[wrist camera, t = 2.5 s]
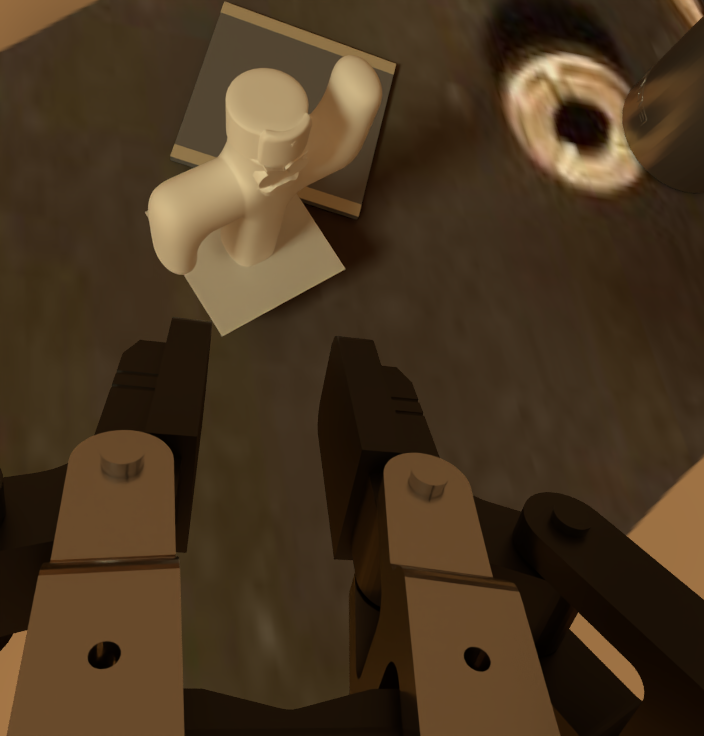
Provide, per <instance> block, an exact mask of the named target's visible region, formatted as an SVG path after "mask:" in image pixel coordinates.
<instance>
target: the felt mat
mask: <svg viewBox="0 0 704 736" xmlns="http://www.w3.org/2000/svg"><path fill="white" fill-rule="evenodd" d="M347 55H355V56H359V57H361V58H362V59H364V60H365V61H367V62H368V63H369V64H370V65H371V66H372V68H373V69H374V70H375V72H376V74H377V75H378V78H379V80H380V83H381V87H382V100H381V104H380V107H379V109H378V111H377V114H376V116H375V118H374V121H373V123H372V125H371V128H370V130H369V132H368V135H367V137H366V139H365V141H364V144H363V146H362V148H361V150H360V151H359V153H358V155H357V156H356V157H355V159H354V160H353V161H352V162H351V163H350V164H348V165H347V166H346V167H344V168H342V169H341V170H339V171H336V172H334V173H332V174H330V175H328V176H326V177H324V178H322V179H320V180H318V181H316V182H314V183H312V184H310V185H308V186H306V187H304V188H303V189H301V190H300V191H299V192H298V193H297V195H298V196H299V198H300V200H301V201H302V202H303V203H306V204H309V205H312V206H315V207H318V208H321V209H324V210H328V211H331V212H334V213H337V214H340V215H343V216H346V217H349V218H353V219H356V220H357V219H358V217H359V213H360V209H361V204H362V200H363V196H364V192H365V188H366V184H367V180H368V176H369V172H370V168H371V164H372V160H373V156H374V152H375V148H376V144H377V140H378V136H379V132H380V127H381V123H382V119H383V115H384V111H385V107H386V103H387V99H388V95H389V91H390V87H391V83H392V79H393V75H394V71H395V67H396V64H395V63H392V62H389V61H387V60H384V59H381V58H378V57H376V56H373V55H370V54H367V53H365V52H362V51H359V50H356V49H354V48H351V47H348V46H346V45H343V44H340V43H337V42H335V41H332V40H329V39H326V38H324V37H321V36H318V35H315V34H313V33H310V32H307V31H304V30H302V29H299V28H296V27H293V26H291V25H288V24H285V23H282V22H280V21H277V20H274V19H271V18H269V17H266V16H263V15H260V14H258V13H255V12H252V11H249V10H247V9H244V8H241V7H238V6H236V5H233V4H230V3H228V2H225V1H224V4H223V7H222V10H221V13H220V16H219V19H218V22H217V25H216V27H215V30H214V33H213V36H212V39H211V42H210V45H209V48H208V50H207V53H206V56H205V59H204V62H203V65H202V68H201V70H200V73H199V76H198V79H197V82H196V85H195V88H194V91H193V93H192V96H191V99H190V102H189V105H188V108H187V111H186V113H185V116H184V119H183V122H182V125H181V128H180V131H179V133H178V136H177V139H176V142H175V144H174V147H173V150H172V153H171V160H172V161H175V162H178V163H181V164H184V165H187V166H190V167H193V168H195V167H197V166H199V165H201V164H204V163H206V162H208V161H210V160H213V159H215V158H217V157H218V156H219V155H220V153H221V152H222V150H223V148H224V146H225V144H226V142H227V134H226V100H225V99H226V93H227V90H228V87H229V86H230V84H231V82H232V81H233V80H234V79H235V78H236V77H237V76H239V75H240V74H242V73H244V72H246V71H248V70H252V69H257V68H270V69H276V70H279V71H282V72H284V73H286V74H288V75H290V76H292V77H293V78H294V79H295V80H297V81H298V82H299V83H300V85H301V86H302V87H303V89H304V91H305V92H306V95H307V98H308V104H309V106H308V114H309V115H310V114H311V113H312V112H313V110H314V109H315V108H316V107H317V105H318V104H319V102H320V101H321V99H322V97H323V95H324V93H325V91H326V89H327V86H328V83H329V80H330V76H331V73H332V70H333V68H334V66H335V64H336V63H337V62H338V61H339V59H341V58H342V57H344V56H347Z"/></svg>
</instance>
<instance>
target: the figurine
mask: <svg viewBox="0 0 704 736" xmlns="http://www.w3.org/2000/svg"><path fill="white" fill-rule="evenodd" d="M225 100H226V134H227V142H226V144H225V146H224V148H223V150H222V152H221V153H220V155H219V156H218V157H217V158H215V159H213V160H210V161H208V162H206V163H204V164H201V165H199V166H197V167H195V168H192V169H190V170H188V171H186V172H184V173H181V174H179V175H177V176H175V177H172V178H170V179H168V180H166V181H164V182H163V183H161V184H160V185H159V186H158V187H156V188H155V189H154V191H153V192H152V194H151V196H150V199H149V204H148V211H146V212H145V214H146V215H147V217H148V218H149V222H150V228H151V234H152V241H153V245H154V249H155V252H156V254H157V256H158V258H159V260H160V261H161V262H162V264H163V265H164V266H165V267H166V268H167V269H168V270H170V271H171V272H173V273H176V274H184V276H185V278H186V279H187V281H188V282H189V284H190V286H191V287H192V289H193V290H194V292H195V294H196V295H197V297H198V298H199V300H200V302H201V303H202V305H203V306H204V308H205V310H206V311H207V313H208V314H209V316H210V318H211V319H212V321H213V322H214V324H215V326H216V327H217V329H218V330H219V332H220V334H221V335H222V336H224V335H226V334H227V333H229V332H231V331H233V330H235V329H237V328H238V327H240V326H242V325H244V324H246V323H248V322H249V321H251V320H253V319H255V318H257V317H259V316H260V315H262V314H264V313H266V312H268V311H270V310H271V309H273V308H275V307H277V306H279V305H281V304H282V303H284V302H286V301H288V300H290V299H292V298H293V297H295V296H297V295H299V294H301V293H303V292H304V291H306V290H308V289H310V288H312V287H314V286H315V285H317V284H319V283H321V282H323V281H324V280H326V279H328V278H330V277H332V276H334V275H335V274H337V273H339V272H341V271H343V270H345V267H344V266H343V264H342V263H341V261H340V260H339V258H338V257H337V255H336V254H335V252H334V250H333V249H332V247H331V246H330V244H329V243H328V241H327V240H326V238H325V237H324V235H323V233H322V232H321V230H320V229H319V227H318V226H317V224H316V223H315V221H314V220H313V218H312V217H311V215H310V213H309V212H308V210H307V209H306V207H305V206H304V204H303V203H302V201H301V200H300V198H299V196H298V195H297V193H298V192H299V191H300V190H301V189H303V188H304V187H306V186H308V185H310V184H312V183H314V182H316V181H318V180H320V179H322V178H324V177H326V176H328V175H330V174H332V173H334V172H336V171H339V170H341V169H342V168H344V167H346V166H347V165H348V164H350V163H351V162H352V161H353V160H354V159H355V157H356V156H357V155H358V153H359V151H360V150H361V148H362V146H363V144H364V141H365V139H366V137H367V135H368V132H369V130H370V128H371V125H372V123H373V121H374V118H375V116H376V114H377V111H378V109H379V107H380V104H381V100H382V87H381V83H380V80H379V78H378V75H377V74H376V72H375V70H374V69H373V68H372V66H371V65H370V64H369V63H368V62H367V61H365V60H364V59H362V58H361V57H359V56H355V55H347V56H344V57H342V58H341V59H339V61H338V62H337V63H336V64H335V66H334V68H333V70H332V73H331V76H330V80H329V83H328V86H327V89H326V91H325V93H324V95H323V97H322V99H321V101H320V102H319V104H318V105H317V107H316V108H315V109H314V110H313V112H312V113H311V114H310V115H309V114H308V106H309V104H308V98H307V95H306V92H305V91H304V89H303V87H302V86H301V85H300V83H299V82H298V81H297V80H295V79H294V78H293V77H292V76H290V75H288V74H286V73H284V72H282V71H279V70H276V69H270V68H257V69H252V70H248V71H246V72H244V73H242V74H240V75H239V76H237V77H236V78H235V79H234V80H233V81H232V82H231V84H230V86H229V87H228V90H227V93H226V99H225Z"/></svg>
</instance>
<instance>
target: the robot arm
mask: <svg viewBox="0 0 704 736" xmlns="http://www.w3.org/2000/svg"><path fill="white" fill-rule="evenodd" d="M622 123H623V128H624V133H625V137H626V139H627V142H628V144H629V147H630V149H631V151H632V152H633V154H634V155H635V157H636V159H637V160H638V161H639V163H640V164H641V165H642V166H643V167H644V168H645V169H646V171H647V172H649V173H650V174H651V175H652V176H653V177H655V178H656V179H657V180H658V181H660V182H662V183H664V184H666V185H667V186H669V187H671V188H674V189H677V190H680V191H683V192H690V193H702V192H704V16H703V17H702V18H701V19H700V20H699V21H698V22H697V23H696V24H695V25H694V26H693V27H692V28H691V29H690V30H689V31H688V32H687V33H686V34H685V35H684V36H683V37H682V38H681V39H680V40H679V41H678V42H677V43H676V44H675V45H674V46H673V47H672V48H671V49H670V50H669V51H668V52H667V53H666V54H665V55H664V56H663V57H662V58H661V59H660V60H659V61H658V62H657V63H656V64H655V65H654V66H653V67H651V68H650V69H649V71H648V72H647V73H646V74H645V75H644V77H643V78H642V79H641V80H640V81H639V82H638V83H637V84H636V85H635V86H634V87H633V88H632V89H631V90H630V92H629V94H628V96H627V97H626V99H625V103H624V107H623V116H622ZM211 330H212V321H203V320H194V319H185V318H177V317H173V318H172V321H171V325H170V329H169V333H168V337H167V342H166V343H164V342H155V341H145V340H139V341H138V342H137V343H135V344H134V345H133V346H132V347H130V348H129V349H128V350H126V351H125V352H124V353H123V354H122V357H121V360H120V363H119V366H118V369H117V373H116V375H115V377H114V380H113V383H112V388H111V389H110V392H109V395H108V398H107V400H106V403H105V406H104V409H103V412H102V415H101V418H100V421H99V423H98V426H97V429H96V432H95V435H94V436H92V437H90V438H88V439H86V440H84V441H83V442H82V443H80V444H79V445H78V446H77V447H76V448H75V449H74V450H73V452H72V453H71V455H70V458H69V462H68V463H67V464H65V465H63V466H60V467H58V468H55V469H51V470H48V471H43V472H38V473H32V474H25V475H18V476H11V477H4V478H3V474H2V472H1V469H0V651H1V650H2V649H3V647H4V646H5V645H6V644H7V643H8V642H9V640H10V638H11V637H12V635H13V633H17V632H21V631H25V630H27V635H26V641H25V645H24V651H23V656H22V661H21V666H20V671H19V676H18V681H17V686H16V691H15V696H14V701H13V707H12V712H11V717H10V721H9V727H8V732H7V736H704V600H703V599H702V598H701V597H700V596H698V595H697V594H696V593H695V592H694V591H692V590H691V589H690V588H689V587H688V586H686V585H685V584H684V583H683V582H681V581H680V580H679V579H678V578H677V577H675V576H674V575H673V574H672V573H671V572H669V571H668V570H667V569H666V568H664V567H663V566H662V565H661V564H659V563H658V562H657V561H656V560H655V559H653V558H652V557H651V556H650V555H649V554H647V553H646V552H645V551H644V550H643V549H641V548H640V547H639V546H638V545H637V544H635V543H634V542H633V541H632V540H631V539H629V538H628V537H627V536H626V535H624V534H623V533H622V532H621V531H620V530H618V529H617V528H616V527H615V526H614V525H612V524H611V523H610V522H609V521H607V520H606V519H605V518H604V517H603V516H601V515H600V514H599V513H598V512H597V511H595V510H594V509H593V508H591V507H590V506H588V505H587V504H585V503H583V502H581V501H579V500H577V499H575V498H572V497H570V496H567V495H563V494H559V493H551V492H545V493H538V494H535V495H533V496H531V497H530V498H529V499H528V500H527V501H526V503H525V505H524V507H523V509H522V511H521V512H520V511H517V510H514V509H510V508H507V507H504V506H500V505H497V504H494V503H490V502H487V501H485V500H482V499H479V498H477V497H475V496H473V495H472V490H471V487H470V484H469V482H468V480H467V479H466V477H465V476H464V475H463V474H462V472H461V471H459V470H458V469H457V468H456V467H455V466H453V465H452V464H450V463H448V462H447V461H445V460H443V459H440V457H439V455H438V452H437V449H436V446H435V444H434V441H433V438H432V436H431V433H430V430H429V428H428V425H427V422H426V419H425V417H424V416H423V411H422V409H421V406H420V403H418V398H417V395H416V392H415V390H414V387H413V384H412V382H411V381H410V380H409V379H408V378H407V377H406V376H405V375H404V374H403V373H402V372H401V371H400V370H399V369H398V368H397V367H388V366H381V363H380V360H379V357H378V353H377V350H376V347H375V344H374V341H373V340H368V339H359V338H350V337H341V336H335V338H334V340H333V343H332V346H331V351H330V356H329V361H328V366H327V371H326V375H325V380H324V385H323V390H322V395H321V400H320V405H319V413H318V438H319V445H320V453H321V461H322V469H323V476H324V484H325V492H326V500H327V508H328V515H329V523H330V531H331V539H332V546H333V554H334V559H340V560H353V563H354V569H355V574H354V577H353V581H352V585H351V588H350V593H349V695H347V696H344V697H340V698H336V699H332V700H329V701H325V702H321V703H318V704H314V705H310V706H307V707H303V708H299V709H294V710H286V709H280V708H276V707H272V706H268V705H264V704H260V703H257V702H253V701H249V700H245V699H241V698H237V697H233V696H229V695H225V694H221V693H217V692H213V691H209V690H205V689H183V664H182V627H181V590H180V563H179V557H178V556H177V557H176V552H183V553H186V552H187V544H188V536H189V528H190V519H191V511H192V503H193V495H194V486H195V478H196V470H197V462H198V453H199V445H200V437H201V429H202V420H203V411H204V402H205V392H206V382H207V371H208V361H209V351H210V341H211ZM578 612H579V613H580V614H581V615H582V616H583V617H584V618H585V619H586V620H587V621H588V622H589V623H590V624H591V625H592V626H593V627H594V628H595V629H596V630H597V631H598V632H599V633H600V634H601V635H602V636H603V637H604V638H605V639H606V640H607V641H609V643H610V644H612V645H613V646H614V647H615V648H616V649H617V650H618V651H619V652H620V653H621V654H622V655H623V656H624V657H625V658H626V659H627V660H628V661H629V662H630V663H631V664H632V665H633V666H634V667H635V669H636V670H637V672H638V674H639V675H640V677H641V679H642V682H643V686H644V699H643V701H641V700H640V699H639V698H638V697H636V696H635V695H634V694H633V693H632V692H631V691H630V690H629V689H628V688H627V687H626V686H625V685H624V684H623V683H622V682H621V681H620V680H619V679H618V678H617V677H616V676H615V675H614V674H613V673H612V672H611V670H610V669H608V667H606V666H605V664H604V663H603V662H601V660H599V658H597V656H596V655H595V654H594V653H593V652H592V651H591V650H590V649H588V647H587V646H586V645H585V644H584V643H583V642H582V641H581V640H580V639H579V638H578V637H577V636H576V635H575V634H574V633H573V632H572V631H571V630H570V629H569V628H570V626H571V624H572V623H573V621H574V619H575V617H576V615H577V613H578Z"/></svg>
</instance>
